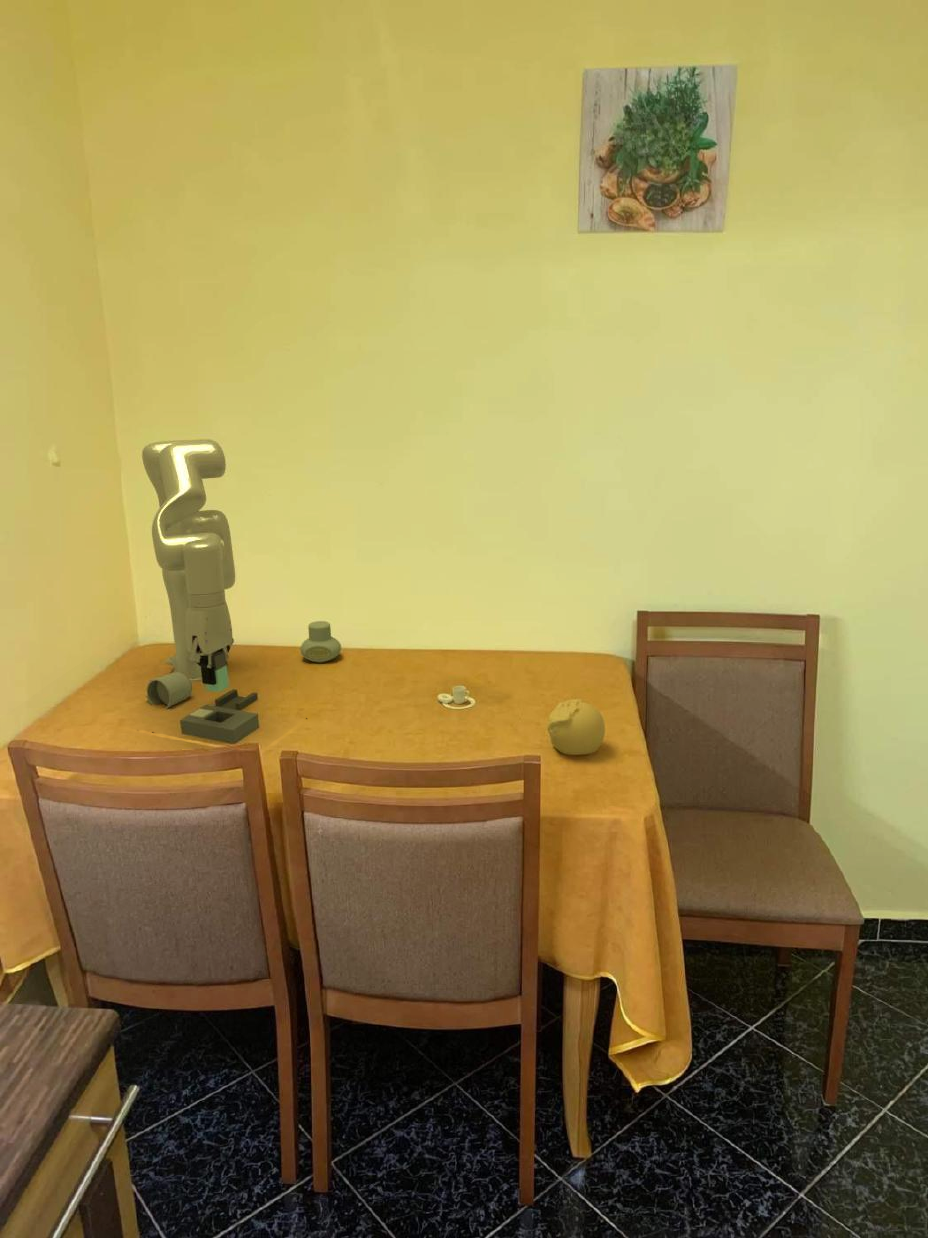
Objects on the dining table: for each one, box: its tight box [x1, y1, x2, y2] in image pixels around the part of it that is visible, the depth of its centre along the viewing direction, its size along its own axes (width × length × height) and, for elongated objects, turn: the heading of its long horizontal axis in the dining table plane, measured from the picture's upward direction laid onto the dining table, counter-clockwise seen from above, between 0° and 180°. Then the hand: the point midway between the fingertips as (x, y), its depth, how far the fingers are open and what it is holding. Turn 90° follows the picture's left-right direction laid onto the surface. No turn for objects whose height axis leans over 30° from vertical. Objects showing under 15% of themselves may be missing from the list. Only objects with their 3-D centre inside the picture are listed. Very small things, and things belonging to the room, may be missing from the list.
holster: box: [214, 688, 259, 711], centre depth 206 cm, size 7×7×2 cm
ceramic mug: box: [145, 672, 193, 709], centre depth 208 cm, size 11×8×8 cm
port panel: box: [179, 704, 260, 745], centre depth 191 cm, size 14×9×4 cm, turn 68°
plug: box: [204, 651, 230, 693], centre depth 187 cm, size 4×4×8 cm
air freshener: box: [300, 620, 342, 664], centre depth 235 cm, size 11×8×10 cm
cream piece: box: [437, 685, 476, 710], centre depth 207 cm, size 9×8×4 cm
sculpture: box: [547, 698, 606, 756], centre depth 181 cm, size 12×12×11 cm
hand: (215, 679), depth 188 cm, fingers closed on plug, 3 cm apart
